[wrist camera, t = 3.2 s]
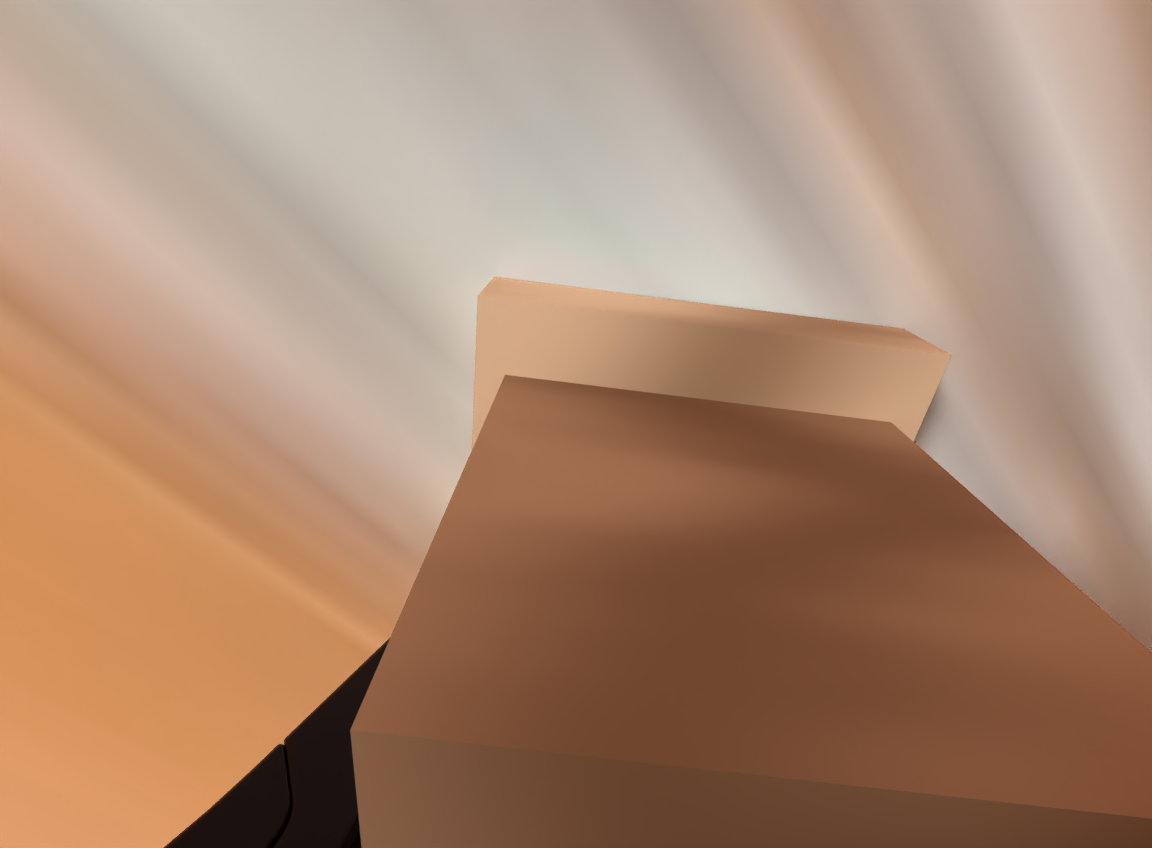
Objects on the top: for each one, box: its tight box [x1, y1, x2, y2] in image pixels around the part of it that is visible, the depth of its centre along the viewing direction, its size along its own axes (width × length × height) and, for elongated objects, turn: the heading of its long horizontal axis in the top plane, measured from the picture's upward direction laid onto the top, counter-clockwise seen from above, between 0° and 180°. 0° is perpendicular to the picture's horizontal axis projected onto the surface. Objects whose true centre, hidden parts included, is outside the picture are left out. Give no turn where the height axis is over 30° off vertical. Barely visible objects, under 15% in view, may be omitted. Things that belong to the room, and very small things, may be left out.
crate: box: [350, 277, 1152, 848], centre depth 7 cm, size 6×9×6 cm, turn 173°
